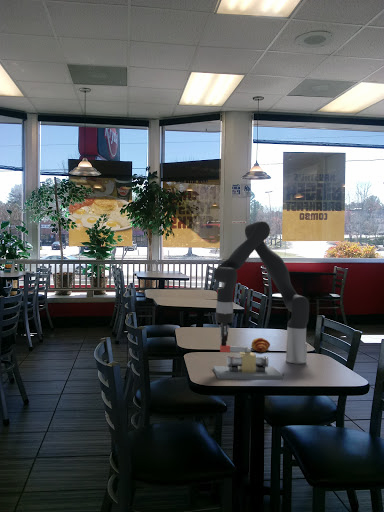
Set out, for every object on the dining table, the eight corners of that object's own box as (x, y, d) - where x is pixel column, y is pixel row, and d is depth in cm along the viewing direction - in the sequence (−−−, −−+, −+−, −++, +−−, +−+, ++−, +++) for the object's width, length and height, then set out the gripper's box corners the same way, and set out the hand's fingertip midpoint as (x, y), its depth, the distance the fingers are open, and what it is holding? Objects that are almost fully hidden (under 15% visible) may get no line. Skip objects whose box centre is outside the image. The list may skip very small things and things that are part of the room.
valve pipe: (264, 369, 206) (265, 352, 206) (268, 372, 200) (269, 355, 200) (226, 368, 204) (226, 352, 204) (228, 372, 198) (229, 355, 198)
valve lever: (250, 352, 203) (250, 346, 203) (250, 353, 201) (251, 347, 201) (220, 350, 204) (220, 344, 204) (220, 352, 202) (220, 345, 202)
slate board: (273, 369, 211) (273, 366, 211) (282, 379, 196) (282, 375, 196) (213, 369, 208) (213, 366, 208) (218, 378, 193) (218, 375, 193)
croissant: (254, 351, 266) (248, 338, 267) (270, 343, 265) (264, 331, 266) (256, 358, 245) (249, 345, 245) (273, 351, 244) (266, 337, 245)
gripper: (215, 308, 212) (214, 345, 213) (217, 313, 199) (216, 353, 200) (231, 309, 212) (230, 346, 213) (234, 314, 199) (233, 353, 200)
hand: (223, 349), depth 206 cm, fingers closed
